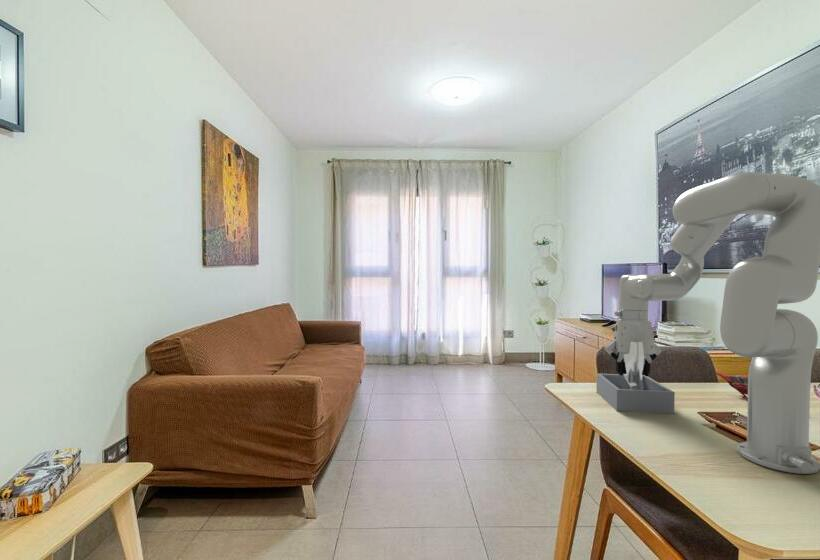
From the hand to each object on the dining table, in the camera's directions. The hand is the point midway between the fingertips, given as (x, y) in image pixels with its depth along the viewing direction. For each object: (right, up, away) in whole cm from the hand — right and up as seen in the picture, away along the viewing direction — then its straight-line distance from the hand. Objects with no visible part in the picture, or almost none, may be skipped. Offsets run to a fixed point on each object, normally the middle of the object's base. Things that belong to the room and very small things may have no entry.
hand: (632, 374), depth 120 cm
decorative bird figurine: (+36, -8, +4) cm, 37 cm away
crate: (0, -8, 0) cm, 8 cm away
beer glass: (0, -5, 0) cm, 5 cm away
